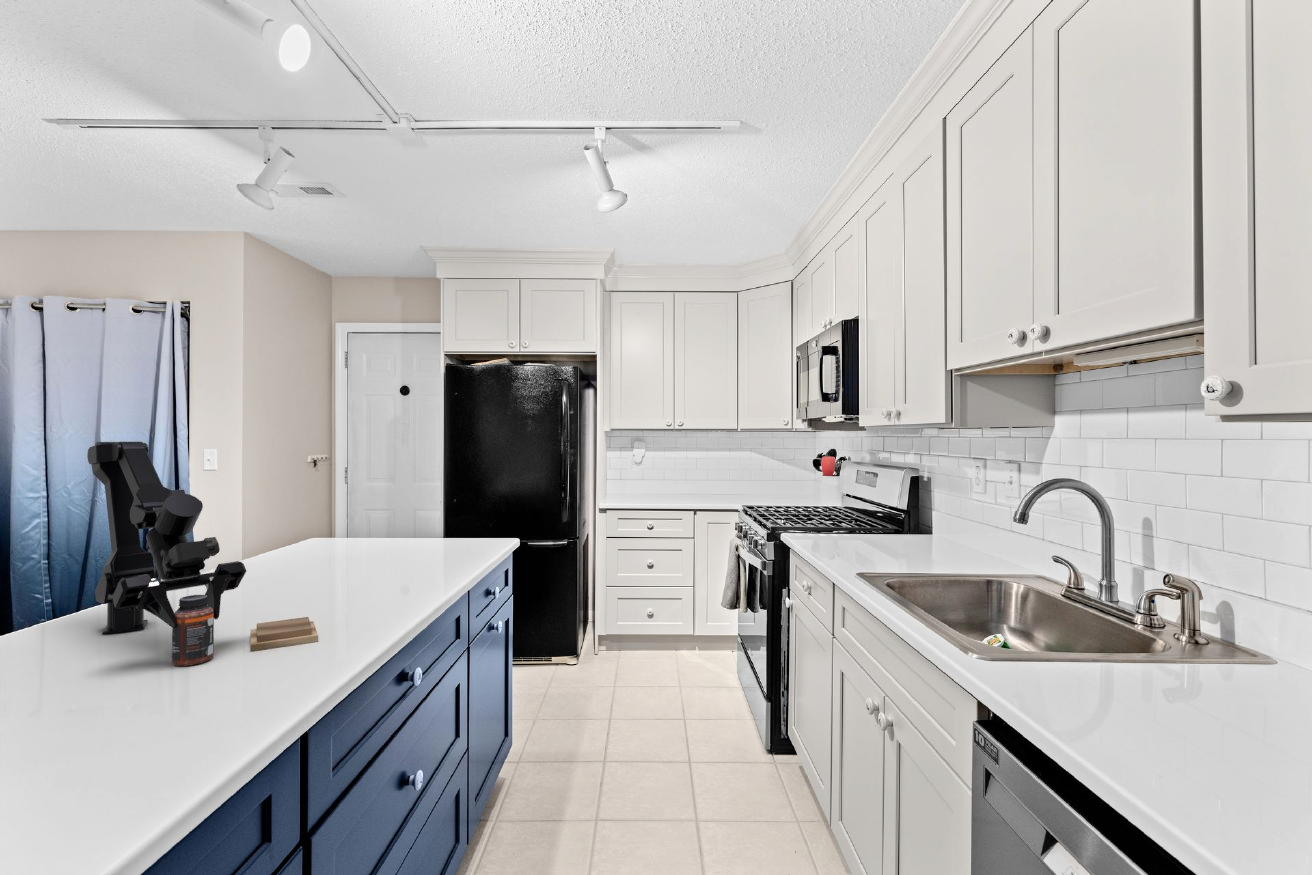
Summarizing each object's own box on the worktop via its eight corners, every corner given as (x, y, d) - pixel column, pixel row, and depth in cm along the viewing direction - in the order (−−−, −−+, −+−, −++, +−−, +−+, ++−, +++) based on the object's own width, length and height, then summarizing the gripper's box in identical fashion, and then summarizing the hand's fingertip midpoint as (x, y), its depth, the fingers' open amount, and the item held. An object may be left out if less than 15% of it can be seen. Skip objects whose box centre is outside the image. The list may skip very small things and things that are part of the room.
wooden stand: (250, 635, 125) (250, 622, 125) (313, 626, 131) (313, 614, 131) (250, 651, 115) (250, 638, 115) (318, 641, 121) (318, 628, 121)
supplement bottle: (221, 657, 112) (222, 594, 112) (187, 669, 106) (188, 602, 106) (198, 653, 114) (199, 591, 114) (163, 664, 108) (164, 599, 108)
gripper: (119, 530, 105) (143, 606, 99) (242, 518, 120) (270, 584, 114) (102, 571, 109) (125, 646, 103) (223, 555, 125) (249, 619, 118)
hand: (196, 622), depth 109 cm, fingers closed on supplement bottle, 6 cm apart
